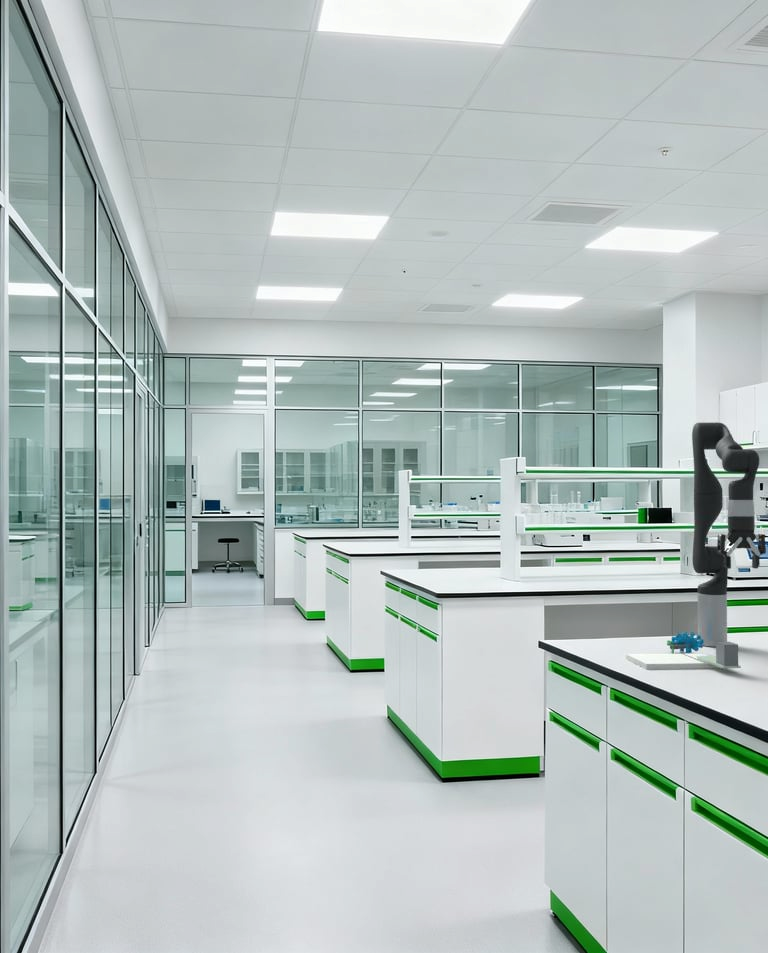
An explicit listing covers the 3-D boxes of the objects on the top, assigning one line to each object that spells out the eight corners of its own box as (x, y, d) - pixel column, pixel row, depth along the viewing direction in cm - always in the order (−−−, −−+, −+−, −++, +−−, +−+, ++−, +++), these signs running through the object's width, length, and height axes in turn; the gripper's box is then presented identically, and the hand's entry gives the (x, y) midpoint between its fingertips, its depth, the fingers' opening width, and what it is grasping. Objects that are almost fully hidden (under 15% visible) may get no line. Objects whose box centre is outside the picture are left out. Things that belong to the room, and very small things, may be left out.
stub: (696, 658, 257) (696, 635, 257) (714, 657, 257) (713, 635, 257) (722, 668, 241) (721, 644, 241) (740, 668, 241) (740, 644, 241)
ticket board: (626, 659, 264) (626, 653, 264) (701, 658, 266) (701, 653, 266) (646, 669, 248) (646, 663, 248) (726, 668, 250) (726, 662, 250)
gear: (706, 647, 275) (700, 628, 269) (707, 663, 271) (701, 644, 265) (670, 650, 280) (664, 631, 274) (670, 665, 276) (664, 646, 270)
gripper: (757, 514, 266) (757, 567, 266) (712, 514, 265) (713, 567, 265) (770, 515, 259) (770, 569, 258) (724, 515, 258) (724, 569, 257)
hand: (741, 568), depth 262 cm, fingers open, 8 cm apart
